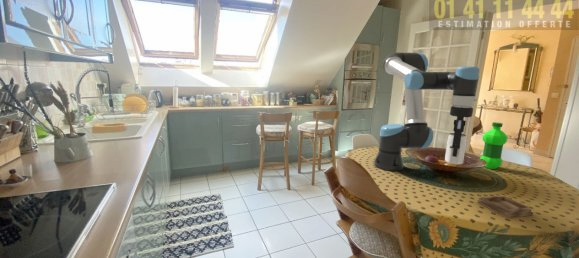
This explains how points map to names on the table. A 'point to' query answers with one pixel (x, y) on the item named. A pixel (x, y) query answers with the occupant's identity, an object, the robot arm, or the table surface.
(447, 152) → the can
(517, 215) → the tray
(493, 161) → the plastic bottle
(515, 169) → the table surface
